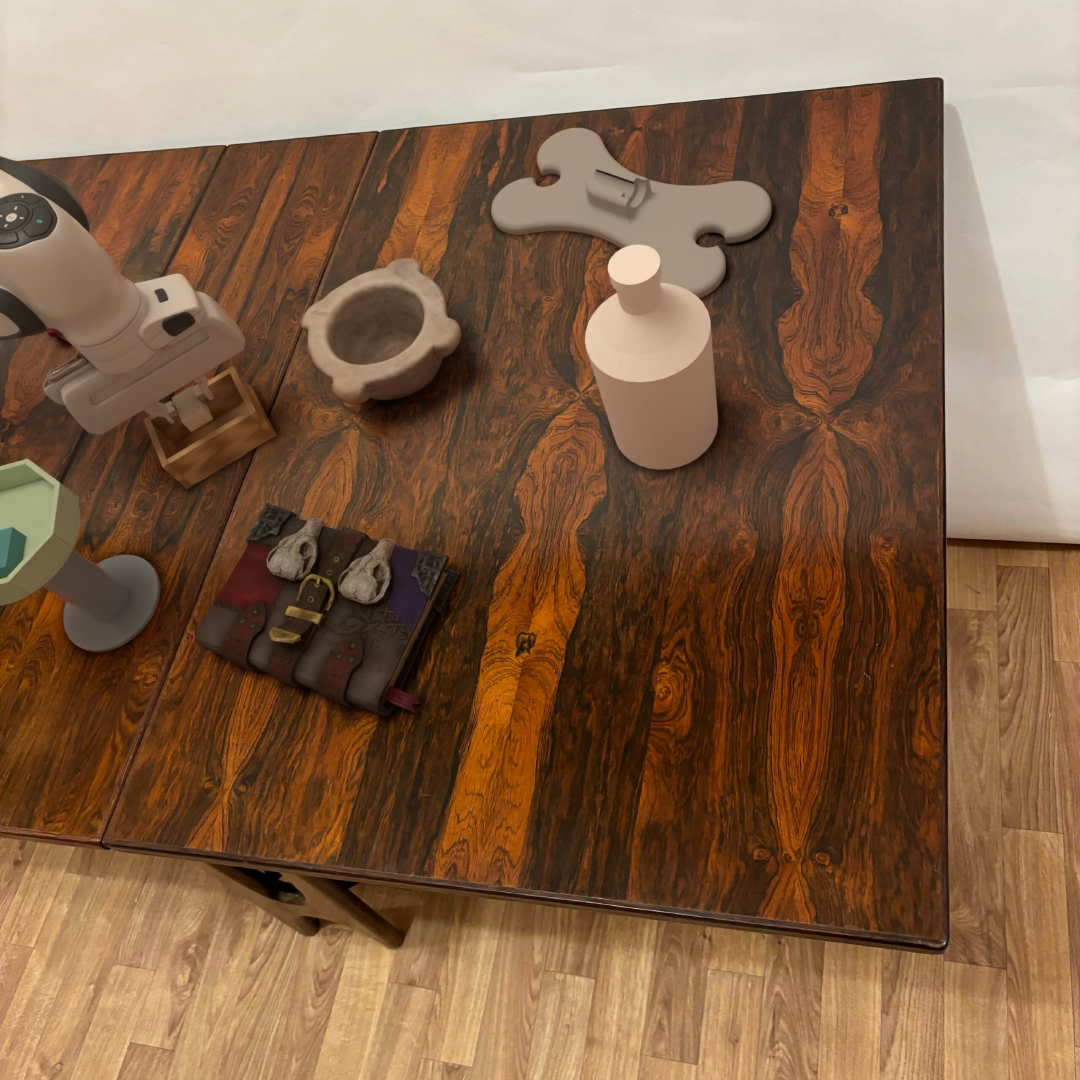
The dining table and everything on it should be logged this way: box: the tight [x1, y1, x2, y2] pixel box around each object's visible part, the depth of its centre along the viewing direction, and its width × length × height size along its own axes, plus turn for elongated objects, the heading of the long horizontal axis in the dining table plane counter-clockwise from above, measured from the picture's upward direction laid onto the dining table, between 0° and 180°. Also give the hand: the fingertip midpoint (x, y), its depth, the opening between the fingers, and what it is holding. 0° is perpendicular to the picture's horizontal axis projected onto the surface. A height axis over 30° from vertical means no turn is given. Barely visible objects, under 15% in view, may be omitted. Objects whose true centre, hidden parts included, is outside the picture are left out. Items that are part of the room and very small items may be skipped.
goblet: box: [0, 458, 161, 653], centre depth 99 cm, size 14×14×20 cm
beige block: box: [171, 384, 213, 432], centre depth 110 cm, size 3×4×2 cm, turn 29°
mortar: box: [300, 257, 462, 405], centre depth 110 cm, size 17×17×9 cm
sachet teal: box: [0, 527, 26, 579], centre depth 91 cm, size 3×4×2 cm, turn 8°
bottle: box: [584, 245, 719, 470], centre depth 91 cm, size 12×12×25 cm
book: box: [194, 502, 461, 717], centre depth 97 cm, size 26×18×7 cm
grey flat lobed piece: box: [490, 127, 773, 300], centre depth 115 cm, size 19×34×5 cm, turn 52°
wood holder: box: [143, 365, 277, 490], centre depth 113 cm, size 13×9×6 cm
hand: (192, 407), depth 109 cm, fingers closed on beige block, 3 cm apart
